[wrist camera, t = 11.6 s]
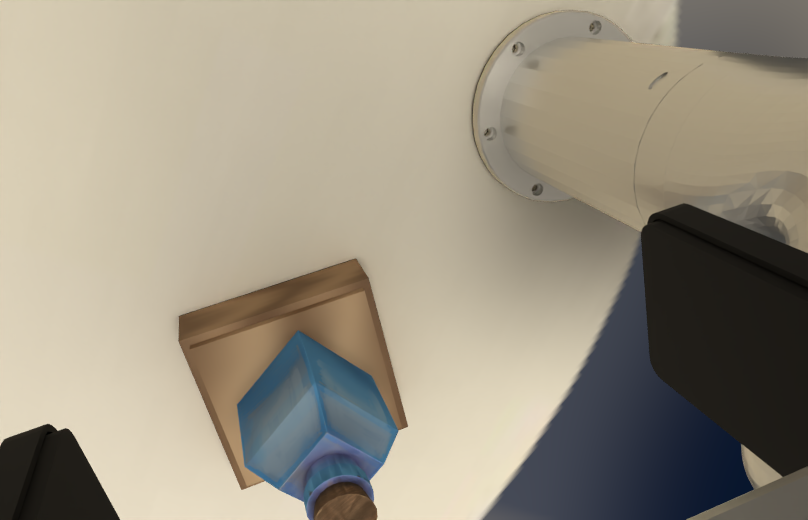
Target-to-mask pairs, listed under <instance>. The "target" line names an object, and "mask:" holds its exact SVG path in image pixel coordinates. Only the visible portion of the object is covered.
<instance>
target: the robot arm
mask: <svg viewBox="0 0 808 520" xmlns="http://www.w3.org/2000/svg"><path fill="white" fill-rule="evenodd" d="M590 25H591V28H590ZM589 28H590V30H589ZM513 45H515V50H514V52H512V47H513ZM473 129H474V137H475V141H476V144H477V148H478V151H479V154H480V156H481V158H482V160H483V162H484V163H485V165H486V167H487V169H488V170H489V171H490V172H491V174H492V175H493V176H494V177H495V178H496V179H497V180H498V181H499V182H500V183H501V184H503V185H504V186H505V187H507V188H508V189H510V190H511V191H513V192H515V193H517V194H519V195H520V196H522V197H525V198H528V199H531V200H534V201H543V202H557V201H565V200H569V199H572V198H576V199H578V200H580V201H582V202H584V203H585V204H587V205H589V206H591V207H593V208H595V209H597V210H599V211H601V212H603V213H605V214H607V215H609V216H611V217H613V218H614V219H616V220H618V221H620V222H622V223H624V224H626V225H628V226H630V227H632V228H634V229H636V230H638V231H640V232H641V242H642V256H643V270H644V283H645V297H646V311H647V325H648V339H649V352H650V361H651V364H652V367H653V369H654V371H655V372H656V374H657V375H658V376H659V377H660V378H661V379H662V380H663V381H664V382H665V383H667V384H668V385H669V386H670V387H672V388H673V389H674V390H675V391H676V392H678V393H679V394H680V395H681V396H683V397H684V398H685V399H686V400H688V401H689V402H691V403H692V404H693V405H694V406H695V407H697V408H698V409H699V410H700V411H701V412H703V413H704V414H705V415H706V416H708V417H709V418H710V419H711V420H713V421H714V422H715V423H716V424H717V425H719V426H720V427H721V428H722V429H724V430H725V431H726V432H728V433H729V434H730V435H731V436H732V437H734V438H735V439H736V440H738V441H739V442H740V443H741V448H742V458H743V463H744V467H745V471H746V474H747V476H748V478H749V480H750V482H751V484H752V486H753V488H754V490H753V491H751V492H748V493H746V494H744V495H742V496H739V497H737V498H735V499H732V500H730V501H728V502H726V503H724V504H721V505H719V506H717V507H714V508H712V509H710V510H708V511H705V512H703V513H701V514H699V515H697V516H694V517H692V518H690V519H687V520H808V58H791V57H779V56H767V55H756V54H747V53H745V54H744V53H732V52H721V51H712V50H703V49H693V48H683V47H673V46H663V45H653V44H644V43H634V42H632V41H631V40H630V38H629V37H628V36H627V35H626V34H625V33H624V32H623V31H622V30H621V29H620V28H619V27H618V26H617V25H616V24H614V23H613V22H611V21H609V20H608V19H606V18H604V17H603V16H600V15H596V14H593V13H590V12H586V11H575V10H569V11H555V12H551V13H547V14H543V15H540V16H538V17H536V18H534V19H532V20H530V21H528V22H526V23H524V24H522V25H521V26H520V27H518V28H517V29H516V30H515V31H513V32H512V33H511V34H509V35H508V36H507V37H506V39H505V40H504V41H503V42H502V43H501V44H500V45H499V46H498V47H497V49H496V50H495V51H494V53H493V54H492V56H491V58H490V59H489V61H488V62H487V64H486V66H485V68H484V70H483V73H482V75H481V78H480V80H479V82H478V85H477V90H476V94H475V99H474V104H473ZM486 129H488V133H487V134H486V135H484V132H485V131H486ZM533 186H534V188H533ZM532 188H533V189H532ZM0 520H120V519H119V517H118V515H117V513H116V511H115V509H114V508H113V506H112V504H111V502H110V500H109V499H108V497H107V495H106V493H105V491H104V489H103V488H102V486H101V484H100V482H99V480H98V479H97V477H96V475H95V473H94V471H93V469H92V468H91V466H90V464H89V462H88V460H87V458H86V457H85V455H84V453H83V451H82V449H81V448H80V446H79V444H78V442H77V440H76V438H75V437H74V435H73V434H72V432H71V431H70V430H69V429H66V428H65V429H62V430H59V431H57V430H56V429H55V428H54V427H53V426H52V425H50V424H46V425H43V426H40V427H37V428H35V429H32V430H29V431H26V432H23V433H20V434H17V435H14V436H12V437H9V438H6V439H4V441H3V442H2V444H1V446H0Z"/></svg>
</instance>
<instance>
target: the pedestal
mask: <svg viewBox="0 0 808 520" xmlns="http://www.w3.org/2000/svg"><path fill="white" fill-rule="evenodd" d="M298 330H299V331H300V332H302V333H304V334H305V335H307V336H308V337H310V338H312V339H313V340H315V341H316V342H318V343H320V344H321V345H323V346H324V347H326V348H328V349H329V350H331V351H332V352H334V353H336V354H337V355H339V356H340V357H342V358H344V359H345V360H347V361H349V362H350V363H352V364H353V365H355V366H357V367H358V368H360V369H361V370H363V371H365V372H366V373H368V374H369V375H371V376H372V377H373V379H374V381H375V383H376V385H377V387H378V390H379V392H380V394H381V396H382V398H383V400H384V402H385V404H386V406H387V408H388V410H389V412H390V414H391V416H392V418H393V420H394V422H395V424H396V426H397V428H398V430H401V429H403V428H406V427H408V425H407V421H406V417H405V413H404V410H403V406H402V402H401V398H400V395H399V391H398V387H397V383H396V380H395V376H394V372H393V368H392V365H391V361H390V357H389V353H388V350H387V346H386V342H385V338H384V335H383V331H382V327H381V323H380V320H379V316H378V312H377V308H376V305H375V301H374V297H373V293H372V290H371V286H370V282H369V278H368V277H367V275H366V274H365V272H364V271H363V269H362V267H361V266H360V264H359V263H358V261H357V260H356V259H353V260H350V261H347V262H344V263H341V264H338V265H335V266H332V267H329V268H326V269H323V270H320V271H317V272H314V273H310V274H307V275H304V276H301V277H298V278H295V279H292V280H289V281H286V282H283V283H280V284H277V285H274V286H271V287H268V288H264V289H261V290H258V291H255V292H252V293H249V294H246V295H243V296H240V297H237V298H234V299H231V300H228V301H225V302H221V303H218V304H215V305H212V306H209V307H206V308H203V309H200V310H197V311H194V312H191V313H188V314H185V315H182V316H179V343H180V346H181V348H182V350H183V353H184V355H185V358H186V360H187V362H188V365H189V367H190V369H191V372H192V374H193V376H194V379H195V381H196V384H197V386H198V388H199V391H200V393H201V395H202V398H203V400H204V402H205V405H206V407H207V410H208V412H209V414H210V417H211V419H212V421H213V424H214V426H215V428H216V431H217V433H218V436H219V438H220V440H221V443H222V445H223V447H224V450H225V452H226V454H227V457H228V459H229V461H230V464H231V466H232V469H233V471H234V473H235V476H236V478H237V480H238V483H239V485H240V487H241V490H243V489H245V488H248V487H251V486H253V485H256V484H259V483H261V482H264V481H265V480H263V479H262V478H260V477H259V476H257V475H256V474H254V473H253V472H251V471H250V470H248V469H247V468H245V466H244V458H243V450H242V442H241V433H240V425H239V417H238V409H237V404H238V403H239V402H240V401H241V399H242V398H243V397H244V396H245V394H246V393H247V392H248V391H249V390H250V388H251V387H252V386H253V385H254V383H255V382H256V381H257V380H258V379H259V377H260V376H261V375H262V374H263V372H264V371H265V370H266V369H267V368H268V366H269V365H270V364H271V363H272V361H273V360H274V359H275V358H276V357H277V355H278V354H279V353H280V352H281V350H282V349H283V348H284V347H285V346H286V344H287V343H288V342H289V341H290V339H291V338H292V337H293V336H294V335H295V333H296V332H297V331H298Z"/></svg>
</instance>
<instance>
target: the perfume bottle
mask: <svg viewBox="0 0 808 520" xmlns="http://www.w3.org/2000/svg"><path fill="white" fill-rule="evenodd" d="M237 409H238V417H239V425H240V433H241V442H242V450H243V458H244V466H245V468H247V469H248V470H250V471H251V472H253V473H254V474H256V475H257V476H259V477H260V478H262V479H263V480H265V481H266V482H268V483H269V484H271V485H272V486H274V487H275V488H277V489H278V490H280V491H282V492H284V493H286V494H288V495H291V496H293V497H295V498H297V499H299V500H301V501H303V502H304V504H305V508H306V513H307V517H308V518H309V520H377V508H376V506H375V505H374V503H373V501H374V494H373V489H372V486H371V484H370V480H371V478H372V477H373V476H374V475H375V474H376V473H377V471H378V470H379V469H380V468H381V467H382V466H383V464H384V462H385V460H386V458H387V456H388V453H389V451H390V449H391V447H392V444H393V442H394V440H395V437H396V435H397V433H398V428H397V426H396V424H395V422H394V420H393V418H392V416H391V414H390V412H389V410H388V408H387V406H386V404H385V402H384V400H383V398H382V396H381V394H380V392H379V390H378V387H377V385H376V383H375V381H374V379H373V377H372V376H371V375H369V374H368V373H366V372H365V371H363V370H361V369H360V368H358V367H357V366H355V365H353V364H352V363H350V362H349V361H347V360H345V359H344V358H342V357H340V356H339V355H337V354H336V353H334V352H332V351H331V350H329V349H328V348H326V347H324V346H323V345H321V344H320V343H318V342H316V341H315V340H313V339H312V338H310V337H308V336H307V335H305V334H304V333H302V332H300V331H299V330H298V331H297V332H296V333H295V335H294V336H293V337H292V338H291V339H290V341H289V342H288V343H287V344H286V346H285V347H284V348H283V349H282V350H281V352H280V353H279V354H278V355H277V357H276V358H275V359H274V360H273V361H272V363H271V364H270V365H269V366H268V368H267V369H266V370H265V371H264V372H263V374H262V375H261V376H260V377H259V379H258V380H257V381H256V382H255V383H254V385H253V386H252V387H251V388H250V390H249V391H248V392H247V393H246V394H245V396H244V397H243V398H242V399H241V401H240V402H239V403H238V404H237Z"/></svg>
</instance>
